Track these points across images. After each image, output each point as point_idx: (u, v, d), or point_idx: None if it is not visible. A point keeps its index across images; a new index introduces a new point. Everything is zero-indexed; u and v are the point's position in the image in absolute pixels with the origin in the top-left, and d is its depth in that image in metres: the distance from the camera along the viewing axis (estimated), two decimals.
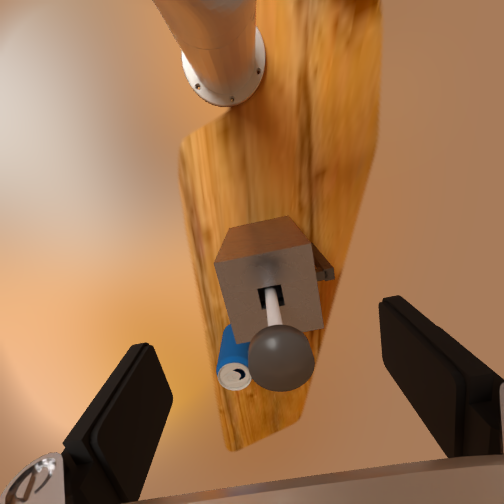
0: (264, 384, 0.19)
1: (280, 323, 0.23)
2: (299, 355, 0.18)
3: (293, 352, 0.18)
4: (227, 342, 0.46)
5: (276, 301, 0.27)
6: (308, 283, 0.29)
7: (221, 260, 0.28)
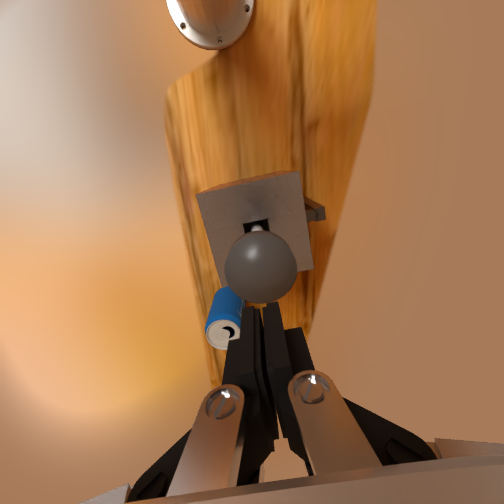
0: (242, 294, 0.18)
1: None
2: (280, 258, 0.17)
3: (273, 255, 0.17)
4: (217, 303, 0.44)
5: None
6: (296, 217, 0.27)
7: (204, 192, 0.27)
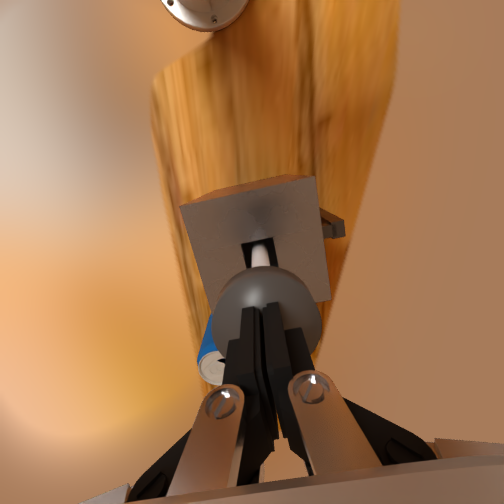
0: None
1: None
2: (296, 312, 0.11)
3: (286, 306, 0.11)
4: None
5: (265, 256, 0.20)
6: (310, 235, 0.21)
7: (191, 203, 0.21)
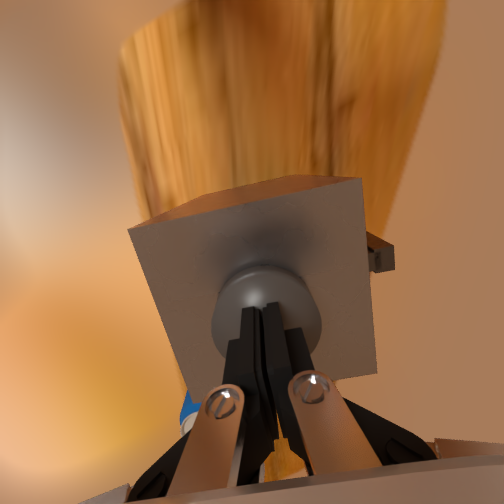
0: None
1: None
2: (296, 312, 0.11)
3: (286, 306, 0.11)
4: None
5: None
6: (349, 277, 0.12)
7: (149, 223, 0.12)
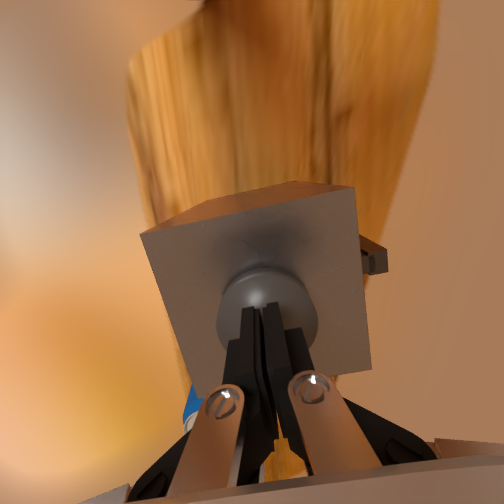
0: None
1: None
2: (295, 310, 0.12)
3: (285, 305, 0.12)
4: None
5: None
6: (344, 278, 0.13)
7: (159, 228, 0.13)
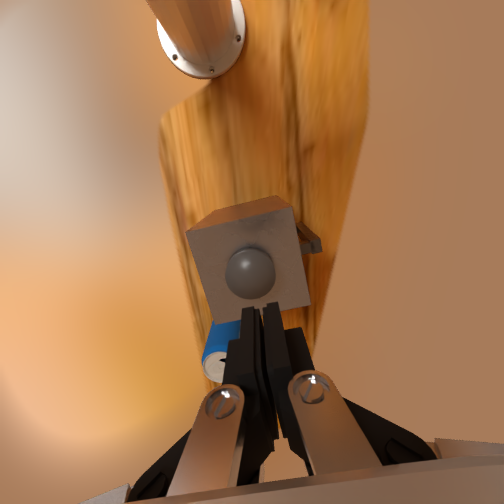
0: (238, 293, 0.25)
1: None
2: (263, 267, 0.24)
3: (259, 265, 0.24)
4: (214, 332, 0.43)
5: None
6: (291, 253, 0.26)
7: (194, 229, 0.26)
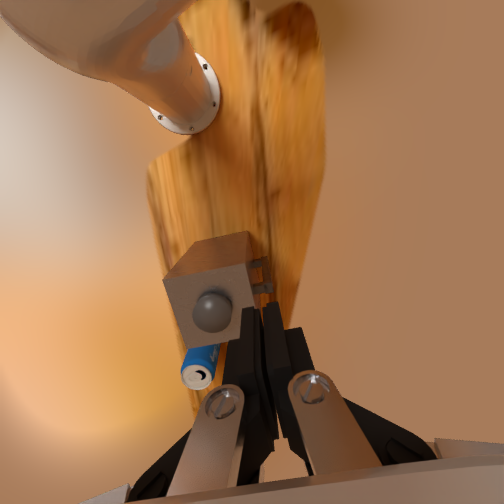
0: (202, 328, 0.32)
1: None
2: (221, 310, 0.32)
3: (218, 308, 0.31)
4: None
5: None
6: (245, 297, 0.33)
7: (169, 277, 0.33)
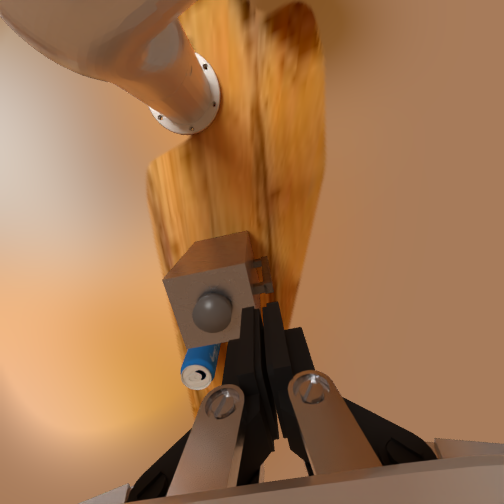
0: (202, 328, 0.32)
1: None
2: (221, 310, 0.32)
3: (218, 308, 0.31)
4: None
5: None
6: (245, 297, 0.33)
7: (169, 277, 0.33)
